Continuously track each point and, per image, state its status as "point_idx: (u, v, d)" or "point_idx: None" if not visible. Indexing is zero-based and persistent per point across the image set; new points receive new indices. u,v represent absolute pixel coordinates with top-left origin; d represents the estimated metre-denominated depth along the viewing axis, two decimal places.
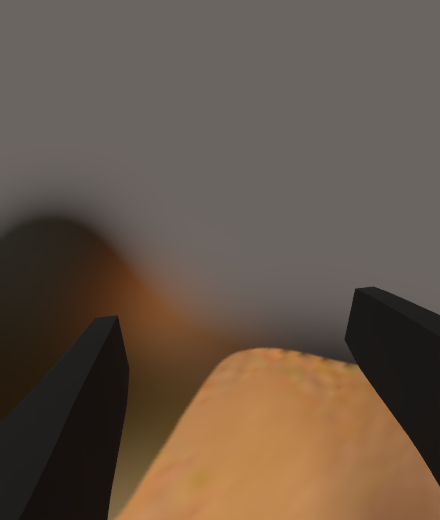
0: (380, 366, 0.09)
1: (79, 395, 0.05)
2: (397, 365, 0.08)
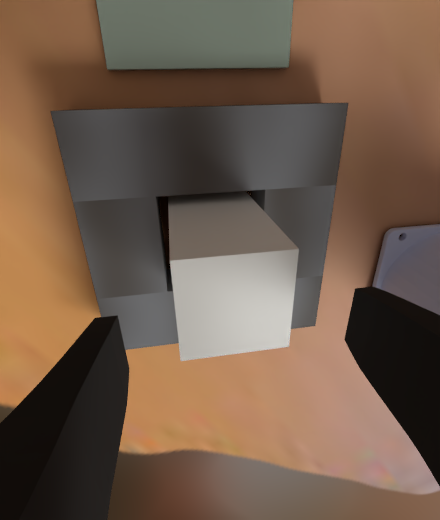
0: (380, 366, 0.09)
1: (79, 395, 0.05)
2: (397, 365, 0.08)
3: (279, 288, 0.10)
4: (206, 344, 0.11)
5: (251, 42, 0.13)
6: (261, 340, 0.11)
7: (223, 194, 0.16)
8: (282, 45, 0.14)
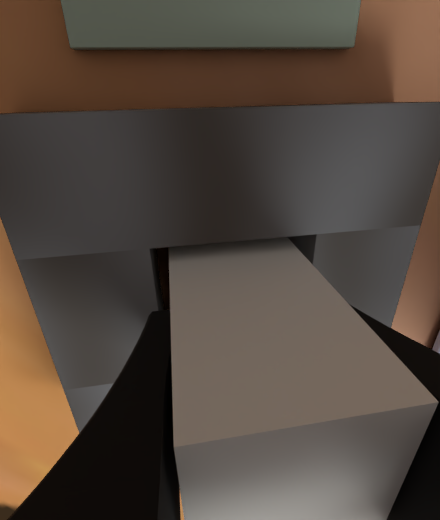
0: None
1: (165, 383, 0.06)
2: None
3: (385, 462, 0.05)
4: None
5: (299, 5, 0.08)
6: None
7: None
8: (347, 11, 0.09)
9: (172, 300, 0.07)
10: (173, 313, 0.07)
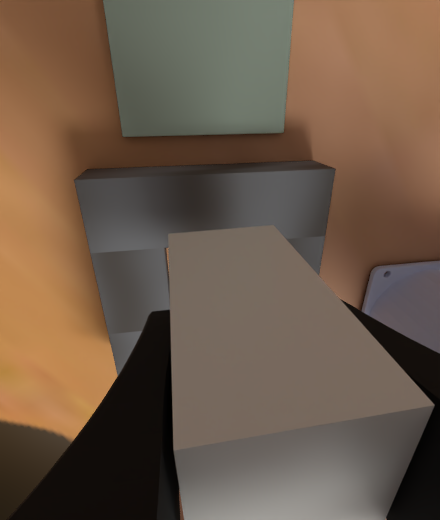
0: None
1: (165, 383, 0.06)
2: None
3: (383, 464, 0.05)
4: None
5: (250, 112, 0.15)
6: None
7: (249, 238, 0.11)
8: (278, 115, 0.15)
9: (172, 303, 0.07)
10: (173, 316, 0.07)
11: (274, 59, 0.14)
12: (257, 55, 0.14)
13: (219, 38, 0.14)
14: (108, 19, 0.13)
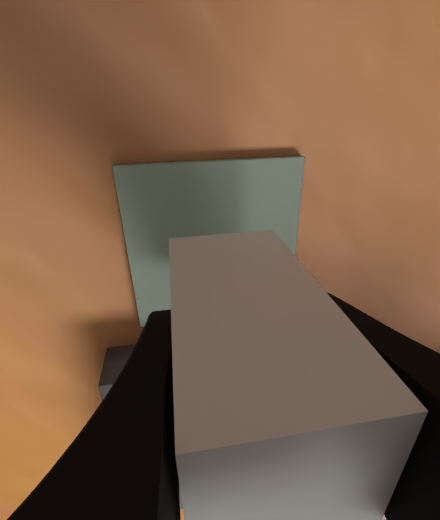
0: None
1: (165, 383, 0.06)
2: None
3: (378, 468, 0.05)
4: None
5: None
6: None
7: (248, 243, 0.11)
8: None
9: (173, 309, 0.07)
10: (174, 322, 0.07)
11: None
12: None
13: None
14: (129, 247, 0.14)
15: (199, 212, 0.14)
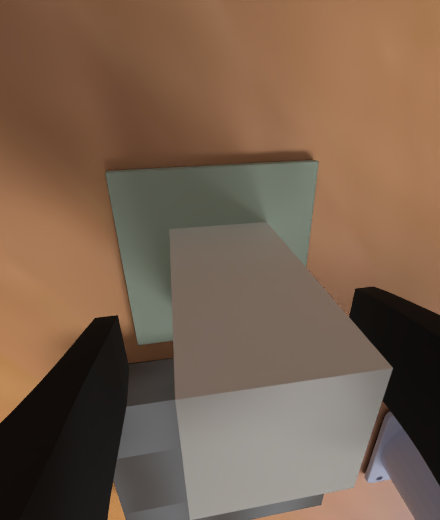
0: None
1: (79, 395, 0.05)
2: (397, 365, 0.08)
3: (352, 421, 0.06)
4: (230, 497, 0.07)
5: None
6: (314, 484, 0.07)
7: (243, 233, 0.12)
8: None
9: (173, 288, 0.08)
10: (174, 299, 0.08)
11: None
12: None
13: None
14: (124, 261, 0.12)
15: (202, 222, 0.12)
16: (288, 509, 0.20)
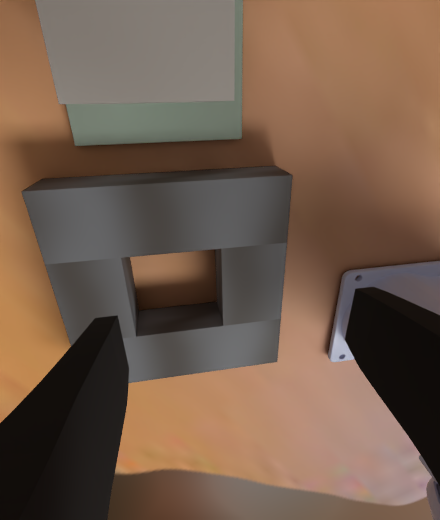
0: (380, 366, 0.09)
1: (79, 395, 0.05)
2: (397, 365, 0.08)
3: None
4: (97, 71, 0.07)
5: (205, 119, 0.15)
6: (189, 79, 0.07)
7: None
8: (234, 121, 0.15)
9: None
10: None
11: None
12: None
13: None
14: None
15: None
16: (243, 363, 0.20)
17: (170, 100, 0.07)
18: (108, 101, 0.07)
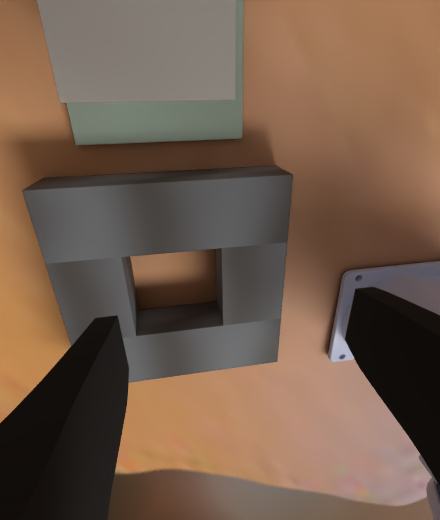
0: (380, 366, 0.09)
1: (79, 395, 0.05)
2: (397, 365, 0.08)
3: None
4: (98, 70, 0.07)
5: (206, 118, 0.15)
6: (189, 78, 0.07)
7: None
8: (235, 120, 0.15)
9: None
10: None
11: None
12: None
13: None
14: None
15: None
16: (243, 363, 0.20)
17: (171, 99, 0.07)
18: (109, 100, 0.07)
